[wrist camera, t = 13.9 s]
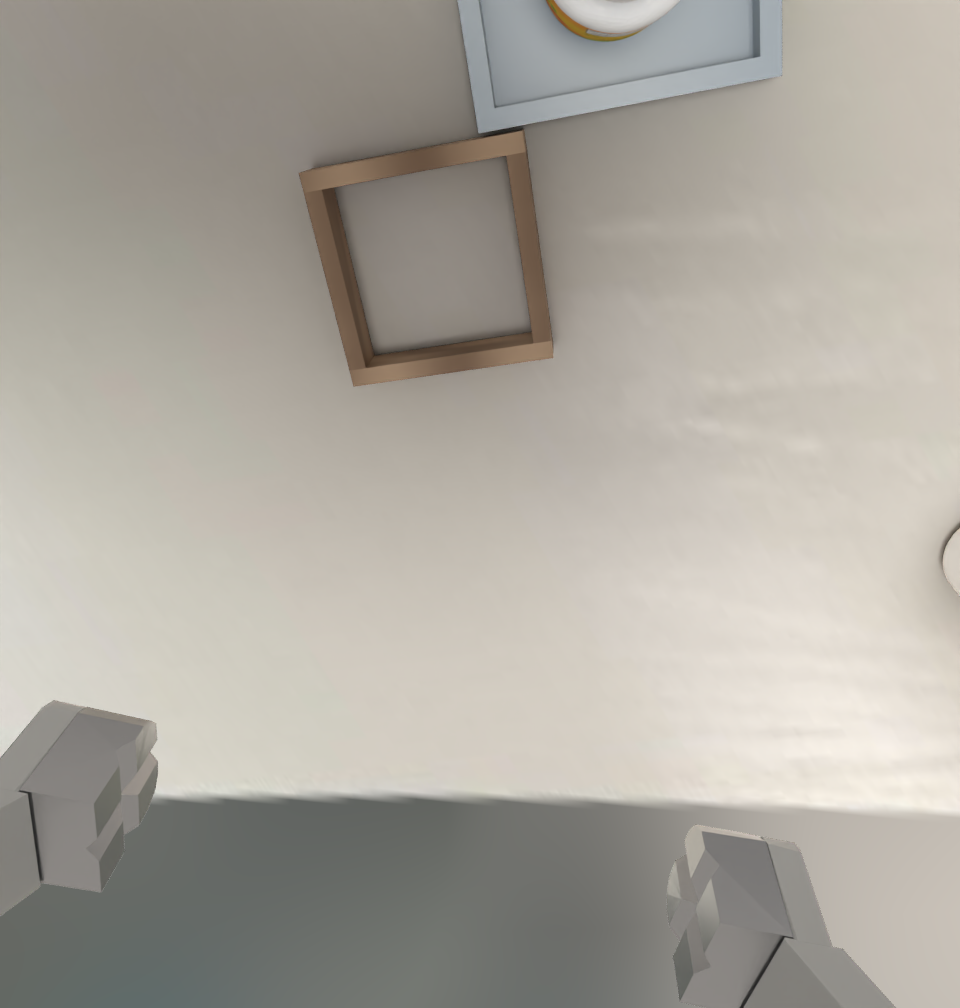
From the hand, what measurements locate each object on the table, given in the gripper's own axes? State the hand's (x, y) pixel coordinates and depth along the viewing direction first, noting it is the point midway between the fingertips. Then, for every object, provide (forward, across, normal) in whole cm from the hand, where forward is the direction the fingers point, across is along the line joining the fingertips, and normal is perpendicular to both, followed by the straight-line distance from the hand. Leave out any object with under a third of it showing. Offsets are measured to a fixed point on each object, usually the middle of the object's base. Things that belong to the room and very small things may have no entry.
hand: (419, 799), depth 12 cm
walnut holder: (+29, +4, -2) cm, 29 cm away
